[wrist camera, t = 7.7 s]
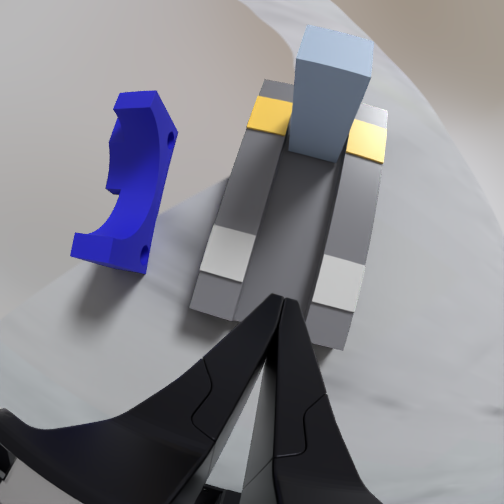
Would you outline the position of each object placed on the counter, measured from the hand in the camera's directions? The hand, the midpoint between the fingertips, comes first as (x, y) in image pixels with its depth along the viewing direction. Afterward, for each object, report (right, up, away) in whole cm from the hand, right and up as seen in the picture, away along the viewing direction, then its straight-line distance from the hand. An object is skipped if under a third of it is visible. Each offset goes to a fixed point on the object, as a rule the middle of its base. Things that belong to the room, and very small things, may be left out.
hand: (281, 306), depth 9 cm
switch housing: (+3, +5, +13) cm, 14 cm away
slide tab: (+4, +10, +13) cm, 17 cm away
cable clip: (-10, +6, +15) cm, 19 cm away
